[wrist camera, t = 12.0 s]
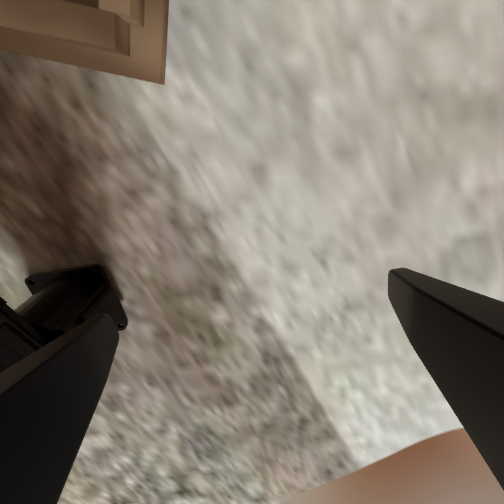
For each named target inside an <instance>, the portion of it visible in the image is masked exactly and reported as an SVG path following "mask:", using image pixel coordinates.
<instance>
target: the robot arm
mask: <svg viewBox="0 0 504 504" xmlns="http://www.w3.org/2000/svg"><path fill="white" fill-rule="evenodd" d="M94 269H95V270H97V271H98V272H95V270H94ZM33 281H34V282H33ZM25 283H26V285H27V287H28V288H29V290H30V292H31V293H32V295H33V296H31V297H30V298H29V299H28V300H26V301H25V302H24V303H23V304H21V305H20V306H19V307H18V308H17V309H15V310H13V309H11V308H10V307H9V306H8V305H7V304H6V303H7V302H6V301H5V300H4V299H2V298H1V297H0V504H57V502H58V500H59V498H60V495H61V493H62V490H63V488H64V485H65V483H66V480H67V478H68V475H69V473H70V471H71V468H72V466H73V463H74V461H75V458H76V456H77V453H78V451H79V449H80V446H81V444H82V441H83V439H84V436H85V434H86V431H87V429H88V426H89V424H90V422H91V419H92V417H93V414H94V412H95V409H96V407H97V404H98V402H99V399H100V397H101V395H102V392H103V390H104V387H105V384H106V381H107V378H108V375H109V372H110V369H111V365H112V362H113V358H114V355H115V352H116V348H117V345H118V342H119V333H118V331H121V330H124V329H125V328H126V327H127V325H128V322H127V320H126V318H125V316H124V313H123V310H122V307H121V305H120V303H119V301H118V299H117V296H116V294H115V292H114V290H113V288H112V287H111V285H110V283H109V281H108V278H107V276H106V274H105V272H104V270H103V268H102V267H101V266H100V265H97V264H94V265H88V266H82V267H76V268H70V269H64V270H58V271H52V272H46V273H40V274H34V275H30V276H29V277H27V278H26V279H25ZM388 297H389V300H390V302H391V304H392V306H393V308H394V310H395V313H396V315H397V317H398V319H399V321H400V323H401V325H402V327H403V329H404V331H405V333H406V335H407V337H408V339H409V341H410V343H411V345H412V346H413V348H414V350H415V351H416V353H417V355H418V356H419V358H420V359H421V361H422V362H423V364H424V366H425V367H426V369H427V370H428V372H429V373H430V375H431V377H432V378H433V380H434V381H435V383H436V384H437V386H438V388H439V389H440V391H441V392H442V394H443V396H444V397H445V399H446V400H447V402H448V403H449V405H450V407H451V408H452V410H453V411H454V413H455V414H456V416H457V418H458V419H459V421H460V422H461V424H462V425H463V427H464V429H465V430H466V432H467V433H468V435H469V436H470V438H471V440H472V441H473V443H474V444H475V446H476V448H477V449H478V451H479V452H480V454H481V455H482V457H483V459H484V460H485V462H486V463H487V465H488V466H489V468H490V469H491V471H492V473H493V474H494V476H495V477H496V479H497V481H498V482H499V484H500V485H501V487H502V488H503V490H504V302H502V301H499V300H496V299H493V298H490V297H487V296H485V295H482V294H479V293H476V292H473V291H470V290H467V289H464V288H461V287H458V286H456V285H453V284H450V283H447V282H444V281H441V280H438V279H435V278H432V277H430V276H427V275H424V274H421V273H418V272H415V271H412V270H409V269H406V268H397V269H391V270H390V271H389V273H388ZM120 324H122V325H120Z"/></svg>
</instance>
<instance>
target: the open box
mask: <svg viewBox="0 0 504 504" xmlns="http://www.w3.org/2000/svg"><path fill="white" fill-rule="evenodd" d="M168 9H169V0H0V50H5V51H10V52H14V53H19V54H24V55H28V56H33V57H37V58H42V59H47V60H51V61H56V62H61V63H65V64H70V65H74V66H79V67H84V68H88V69H93V70H98V71H102V72H107V73H111V74H116V75H121V76H125V77H130V78H135V79H139V80H144V81H148V82H153V83H158V84H162V85H165V66H166V47H167V28H168Z"/></svg>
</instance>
